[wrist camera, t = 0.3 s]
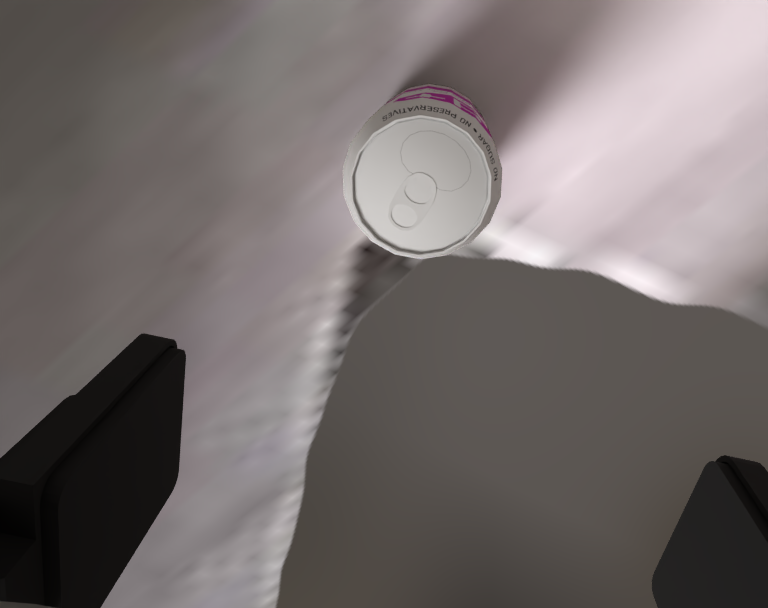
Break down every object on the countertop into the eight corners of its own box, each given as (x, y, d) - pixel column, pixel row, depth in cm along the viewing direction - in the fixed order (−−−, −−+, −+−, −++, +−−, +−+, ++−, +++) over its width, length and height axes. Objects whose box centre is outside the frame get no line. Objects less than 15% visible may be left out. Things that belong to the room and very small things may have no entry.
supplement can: (407, 60, 42) (387, 68, 29) (510, 122, 43) (538, 158, 30) (352, 165, 46) (309, 217, 32) (449, 220, 46) (448, 295, 33)
